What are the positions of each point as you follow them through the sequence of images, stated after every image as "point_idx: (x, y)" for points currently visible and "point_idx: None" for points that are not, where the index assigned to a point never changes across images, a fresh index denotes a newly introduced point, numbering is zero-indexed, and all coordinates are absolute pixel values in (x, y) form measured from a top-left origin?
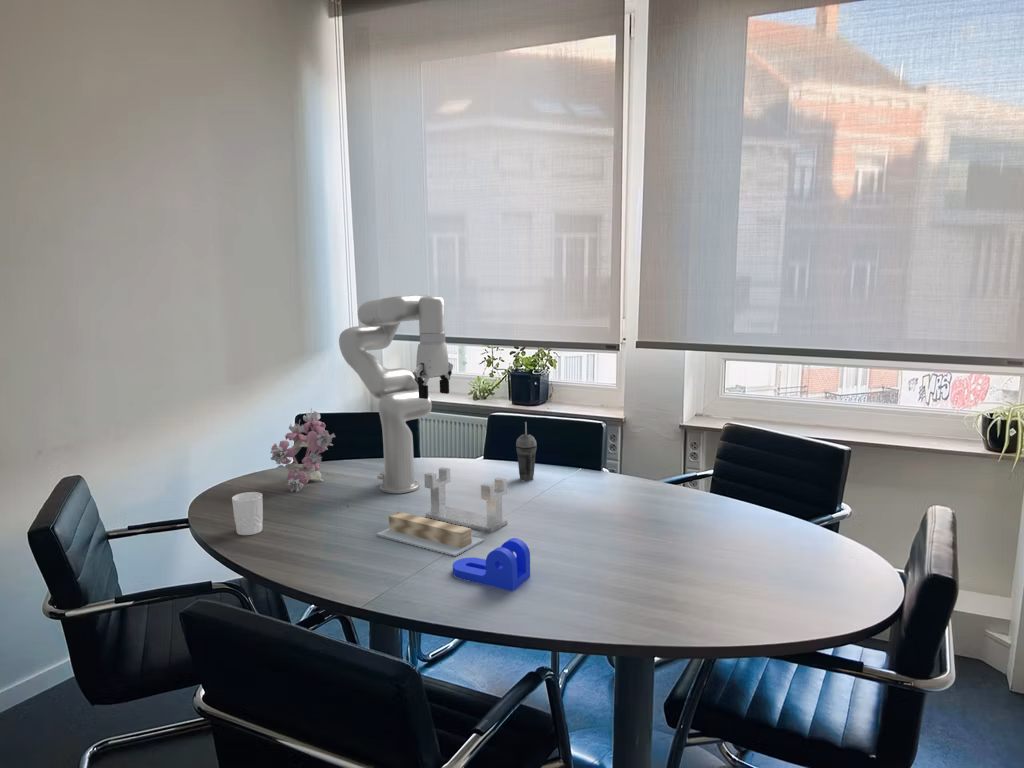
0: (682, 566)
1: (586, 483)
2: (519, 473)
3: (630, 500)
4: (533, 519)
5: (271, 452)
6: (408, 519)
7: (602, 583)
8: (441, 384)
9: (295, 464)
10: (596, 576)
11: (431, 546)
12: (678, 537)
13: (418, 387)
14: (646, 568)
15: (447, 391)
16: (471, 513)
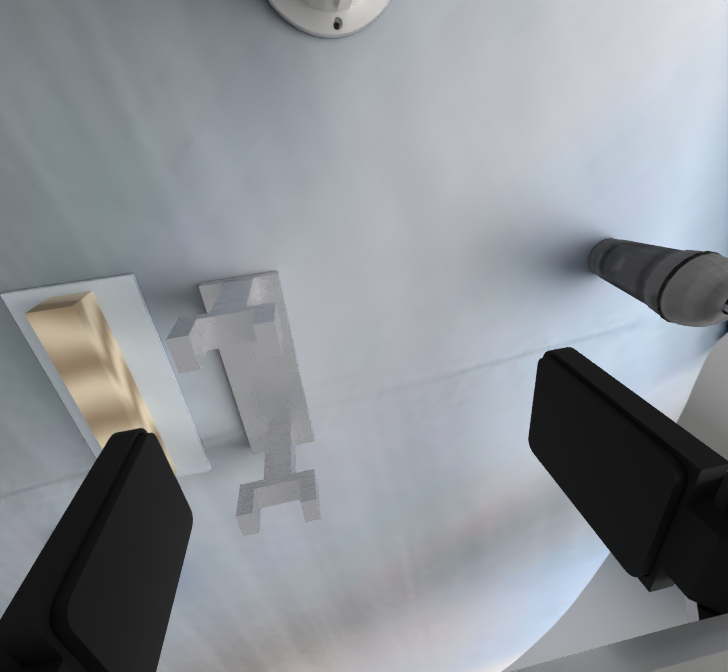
0: (348, 636)
1: (618, 379)
2: (607, 250)
3: (549, 484)
4: (367, 447)
5: None
6: (66, 373)
7: (237, 627)
8: (615, 451)
9: None
10: (248, 615)
11: (93, 439)
12: (431, 592)
13: (31, 568)
14: (314, 624)
15: (542, 461)
16: (288, 367)
